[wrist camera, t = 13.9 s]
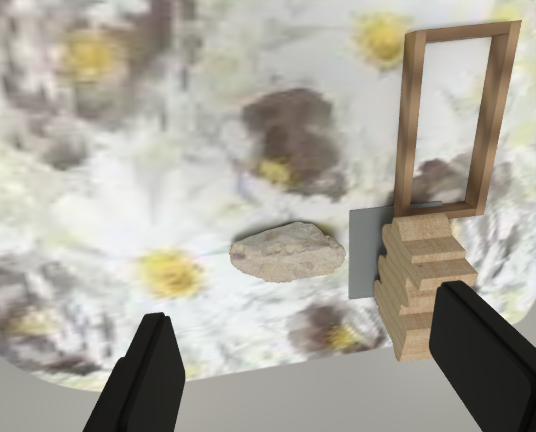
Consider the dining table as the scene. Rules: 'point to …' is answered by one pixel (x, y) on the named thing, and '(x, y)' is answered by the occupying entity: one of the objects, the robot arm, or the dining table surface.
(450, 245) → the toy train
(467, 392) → the robot arm
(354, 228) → the slate mat
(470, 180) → the pocket frame
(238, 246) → the stone
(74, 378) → the dining table surface
